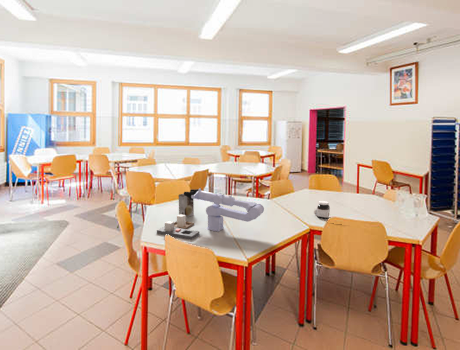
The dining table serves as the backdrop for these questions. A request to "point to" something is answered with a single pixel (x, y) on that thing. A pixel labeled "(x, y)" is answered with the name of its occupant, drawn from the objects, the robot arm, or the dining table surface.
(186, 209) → the coffee box
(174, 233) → the power strip
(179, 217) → the white plug
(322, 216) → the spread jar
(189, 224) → the tray
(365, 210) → the dining table surface
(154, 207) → the dining table surface
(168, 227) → the seated plug
